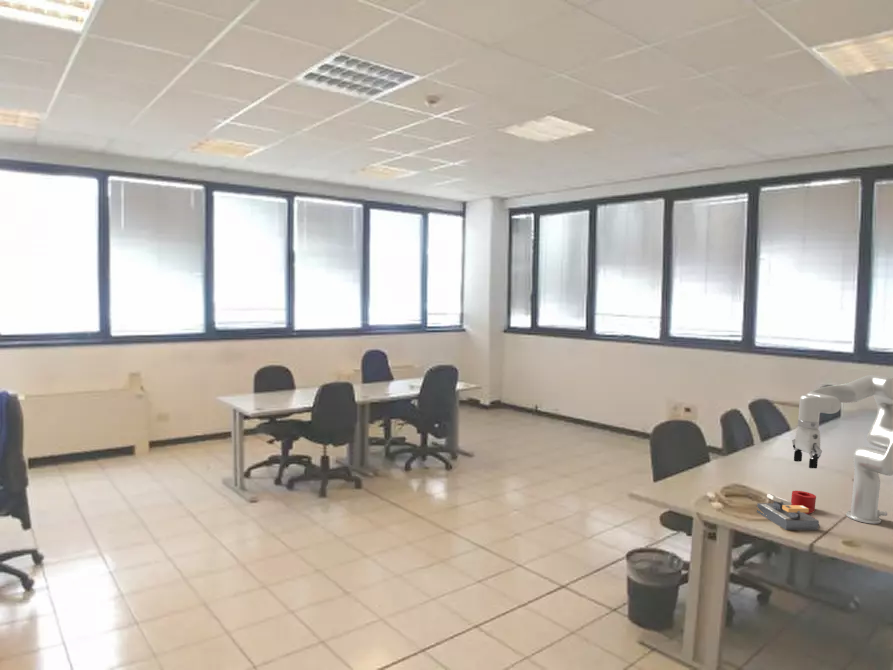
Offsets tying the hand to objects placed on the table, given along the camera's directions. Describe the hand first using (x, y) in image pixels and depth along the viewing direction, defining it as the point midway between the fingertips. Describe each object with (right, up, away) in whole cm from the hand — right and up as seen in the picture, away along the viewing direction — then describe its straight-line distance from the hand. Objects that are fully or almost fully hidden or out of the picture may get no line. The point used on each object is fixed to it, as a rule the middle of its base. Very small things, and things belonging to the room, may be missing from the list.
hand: (805, 464), depth 254 cm
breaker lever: (-5, -19, -1) cm, 20 cm away
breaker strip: (-6, -25, +4) cm, 26 cm away
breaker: (-6, -18, +10) cm, 21 cm away
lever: (+8, -25, +17) cm, 31 cm away
